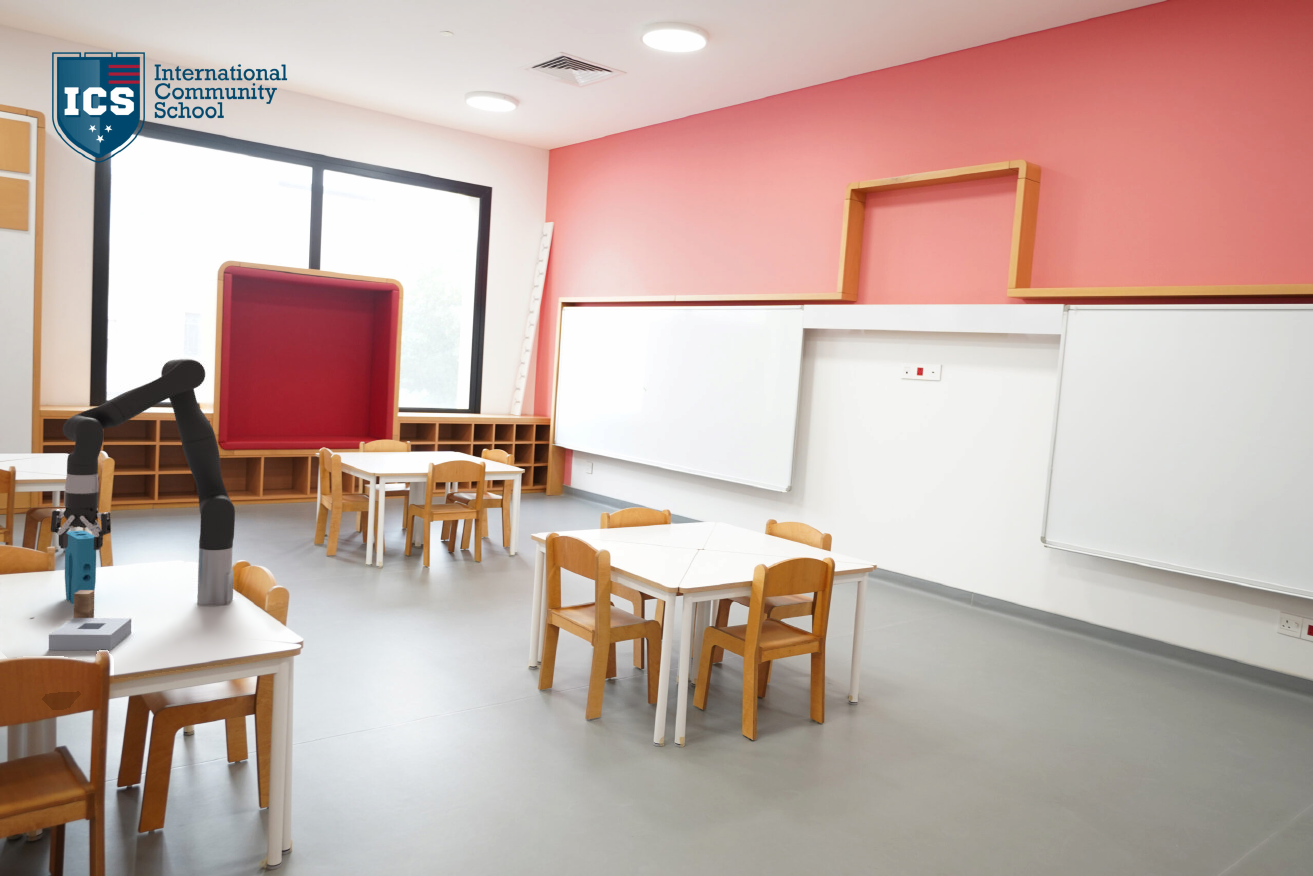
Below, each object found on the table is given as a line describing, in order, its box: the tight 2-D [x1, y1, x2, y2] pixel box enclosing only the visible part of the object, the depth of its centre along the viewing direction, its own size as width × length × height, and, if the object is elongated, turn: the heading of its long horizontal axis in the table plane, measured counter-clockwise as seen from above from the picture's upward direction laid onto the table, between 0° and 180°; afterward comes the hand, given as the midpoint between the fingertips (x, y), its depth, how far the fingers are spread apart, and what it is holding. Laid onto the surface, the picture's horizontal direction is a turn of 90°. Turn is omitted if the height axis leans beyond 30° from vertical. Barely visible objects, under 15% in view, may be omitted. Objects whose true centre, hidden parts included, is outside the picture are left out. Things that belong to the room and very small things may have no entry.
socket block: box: [48, 617, 132, 651], centre depth 226 cm, size 14×14×4 cm
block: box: [64, 530, 97, 605], centre depth 258 cm, size 12×5×20 cm, turn 50°
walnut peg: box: [73, 590, 95, 618], centre depth 235 cm, size 4×4×10 cm
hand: (80, 548), depth 236 cm, fingers open, 8 cm apart
